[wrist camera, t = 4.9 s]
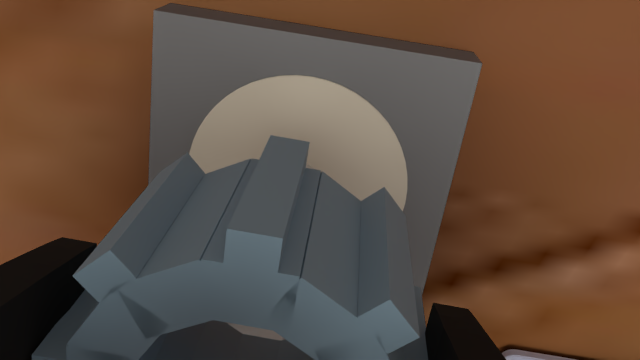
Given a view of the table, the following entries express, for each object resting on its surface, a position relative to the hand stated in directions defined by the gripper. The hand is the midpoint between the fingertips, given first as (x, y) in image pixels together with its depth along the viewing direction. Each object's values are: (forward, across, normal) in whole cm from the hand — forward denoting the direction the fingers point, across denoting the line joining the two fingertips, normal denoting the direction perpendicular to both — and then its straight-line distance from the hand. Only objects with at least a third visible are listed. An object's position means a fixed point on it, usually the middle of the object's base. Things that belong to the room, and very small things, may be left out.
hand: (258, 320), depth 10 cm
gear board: (+9, 0, +7) cm, 12 cm away
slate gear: (+1, 0, 0) cm, 1 cm away
